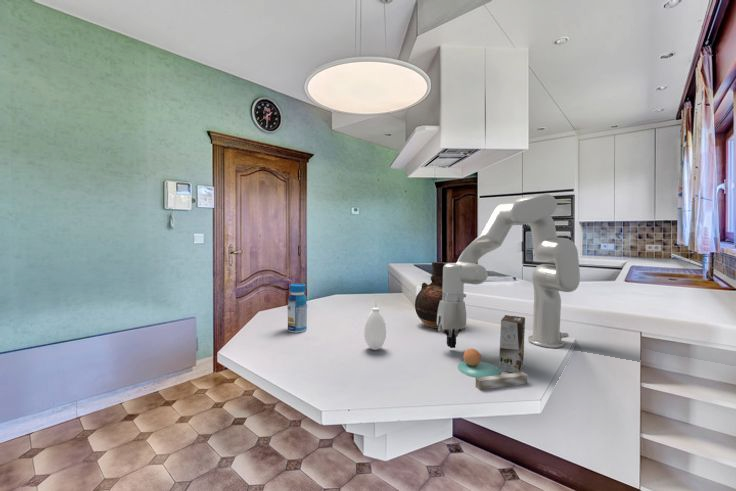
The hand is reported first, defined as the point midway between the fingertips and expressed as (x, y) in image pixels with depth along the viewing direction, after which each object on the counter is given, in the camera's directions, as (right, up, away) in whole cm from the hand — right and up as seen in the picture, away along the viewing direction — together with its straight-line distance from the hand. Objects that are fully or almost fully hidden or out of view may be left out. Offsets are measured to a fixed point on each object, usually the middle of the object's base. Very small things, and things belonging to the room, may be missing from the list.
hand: (451, 346), depth 122 cm
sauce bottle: (-28, -1, 0) cm, 28 cm away
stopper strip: (+8, -3, -27) cm, 28 cm away
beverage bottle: (-62, 0, +22) cm, 65 cm away
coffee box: (+16, -3, -14) cm, 21 cm away
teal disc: (+5, -2, -16) cm, 17 cm away
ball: (+4, +1, -13) cm, 14 cm away
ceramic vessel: (+1, 0, +32) cm, 32 cm away
